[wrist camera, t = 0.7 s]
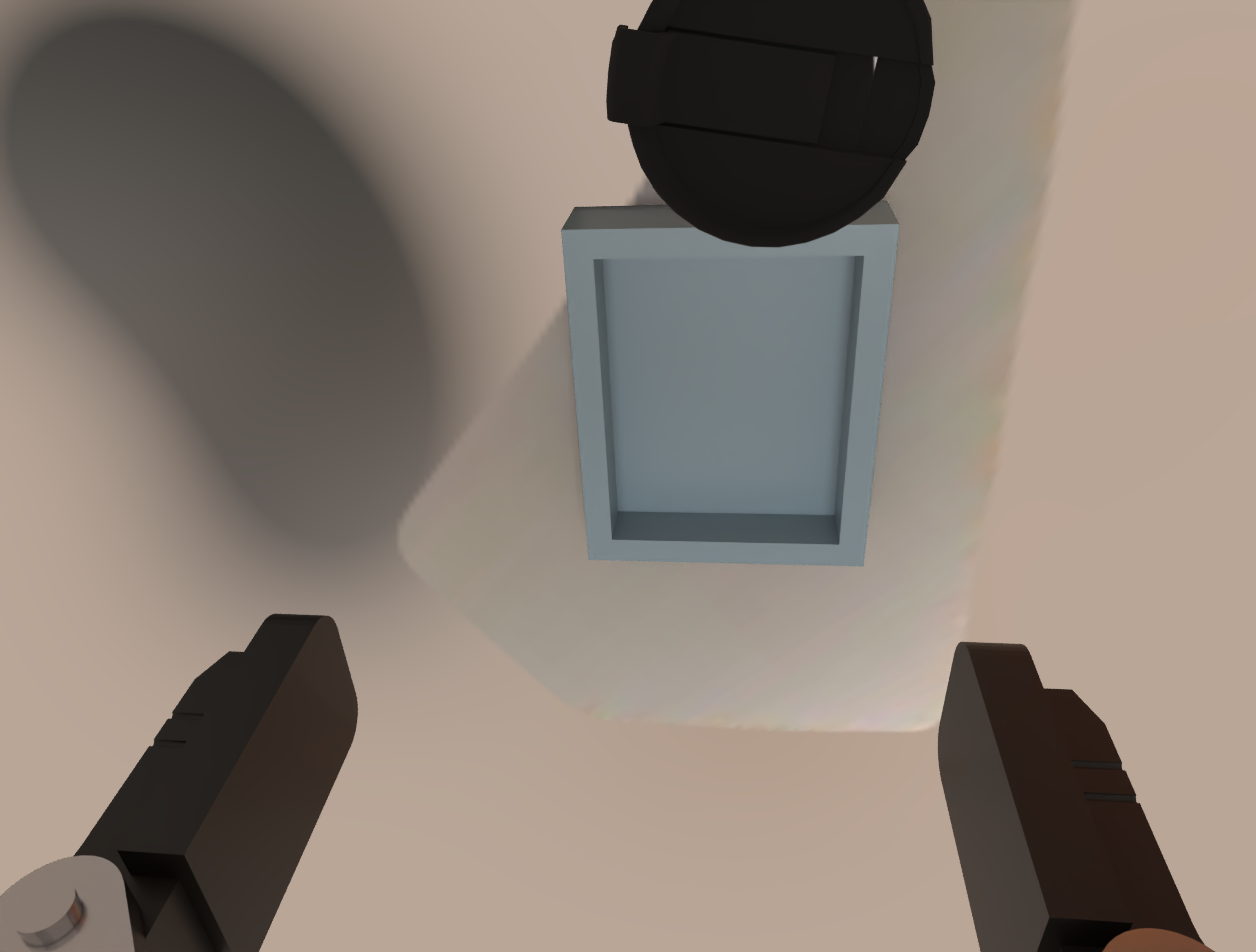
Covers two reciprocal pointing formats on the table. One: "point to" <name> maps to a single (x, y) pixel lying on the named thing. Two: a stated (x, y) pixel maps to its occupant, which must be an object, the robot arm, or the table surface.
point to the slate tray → (726, 387)
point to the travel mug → (773, 109)
